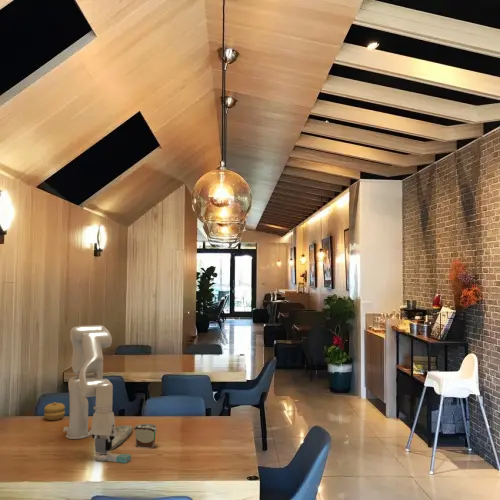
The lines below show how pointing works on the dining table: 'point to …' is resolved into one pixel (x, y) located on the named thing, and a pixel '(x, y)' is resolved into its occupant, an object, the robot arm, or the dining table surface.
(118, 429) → the elongated rock
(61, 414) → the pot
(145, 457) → the dining table surface
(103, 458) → the ratchet
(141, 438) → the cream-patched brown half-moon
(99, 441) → the brushed metal cube
